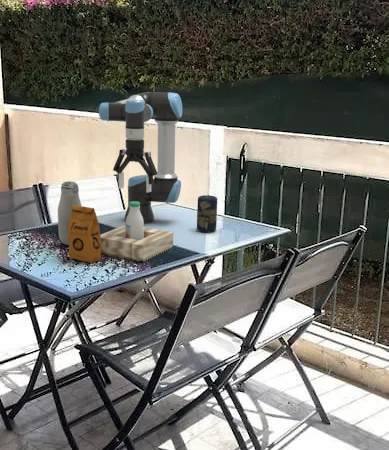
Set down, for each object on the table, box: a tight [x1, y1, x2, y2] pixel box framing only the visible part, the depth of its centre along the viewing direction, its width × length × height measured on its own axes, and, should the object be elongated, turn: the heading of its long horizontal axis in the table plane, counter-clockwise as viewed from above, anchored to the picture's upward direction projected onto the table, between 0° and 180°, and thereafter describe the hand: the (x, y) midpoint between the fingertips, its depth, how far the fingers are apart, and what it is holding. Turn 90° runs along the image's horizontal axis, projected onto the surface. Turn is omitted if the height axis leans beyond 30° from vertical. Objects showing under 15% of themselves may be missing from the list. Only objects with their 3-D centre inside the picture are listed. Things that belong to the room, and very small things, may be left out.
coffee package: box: [68, 205, 102, 264], centre depth 227 cm, size 10×12×22 cm
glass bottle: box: [57, 181, 82, 246], centre depth 245 cm, size 10×10×28 cm
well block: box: [100, 224, 174, 263], centre depth 243 cm, size 24×24×7 cm
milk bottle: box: [125, 201, 145, 240], centre depth 241 cm, size 8×8×20 cm
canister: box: [196, 194, 218, 233], centre depth 275 cm, size 10×10×18 cm
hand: (134, 190), depth 237 cm, fingers open, 13 cm apart
